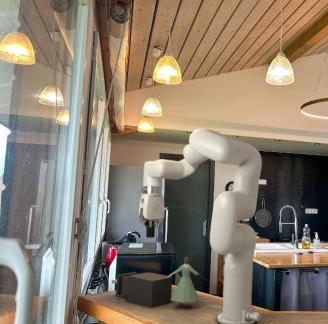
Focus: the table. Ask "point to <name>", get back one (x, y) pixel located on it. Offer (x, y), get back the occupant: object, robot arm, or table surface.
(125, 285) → the drawer
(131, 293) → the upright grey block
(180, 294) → the character figurine
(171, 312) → the table surface
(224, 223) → the robot arm
